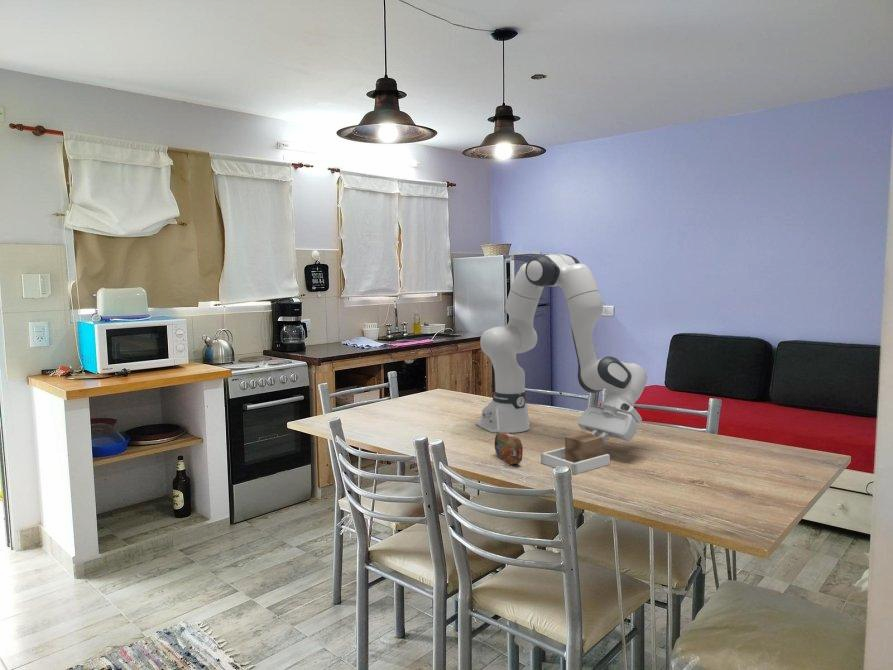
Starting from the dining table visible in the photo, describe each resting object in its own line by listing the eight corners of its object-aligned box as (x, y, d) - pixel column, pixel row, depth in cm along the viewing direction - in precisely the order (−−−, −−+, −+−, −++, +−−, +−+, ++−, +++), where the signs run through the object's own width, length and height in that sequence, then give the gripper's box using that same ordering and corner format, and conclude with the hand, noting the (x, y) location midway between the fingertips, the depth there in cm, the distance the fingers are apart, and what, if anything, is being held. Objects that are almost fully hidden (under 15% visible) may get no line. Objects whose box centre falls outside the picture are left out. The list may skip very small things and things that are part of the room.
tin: (494, 455, 193) (493, 429, 193) (502, 453, 194) (502, 428, 194) (515, 468, 179) (514, 440, 178) (524, 466, 180) (524, 439, 180)
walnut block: (565, 460, 185) (564, 436, 185) (583, 455, 190) (583, 432, 189) (584, 466, 179) (584, 442, 178) (602, 461, 183) (602, 437, 182)
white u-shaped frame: (540, 462, 184) (540, 453, 183) (575, 453, 192) (575, 444, 192) (574, 474, 172) (574, 464, 172) (609, 464, 180) (609, 454, 180)
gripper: (586, 398, 198) (565, 432, 193) (637, 408, 181) (615, 445, 176) (595, 409, 201) (575, 443, 196) (646, 420, 184) (625, 457, 179)
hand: (594, 444), depth 186 cm, fingers closed, pressing on walnut block
